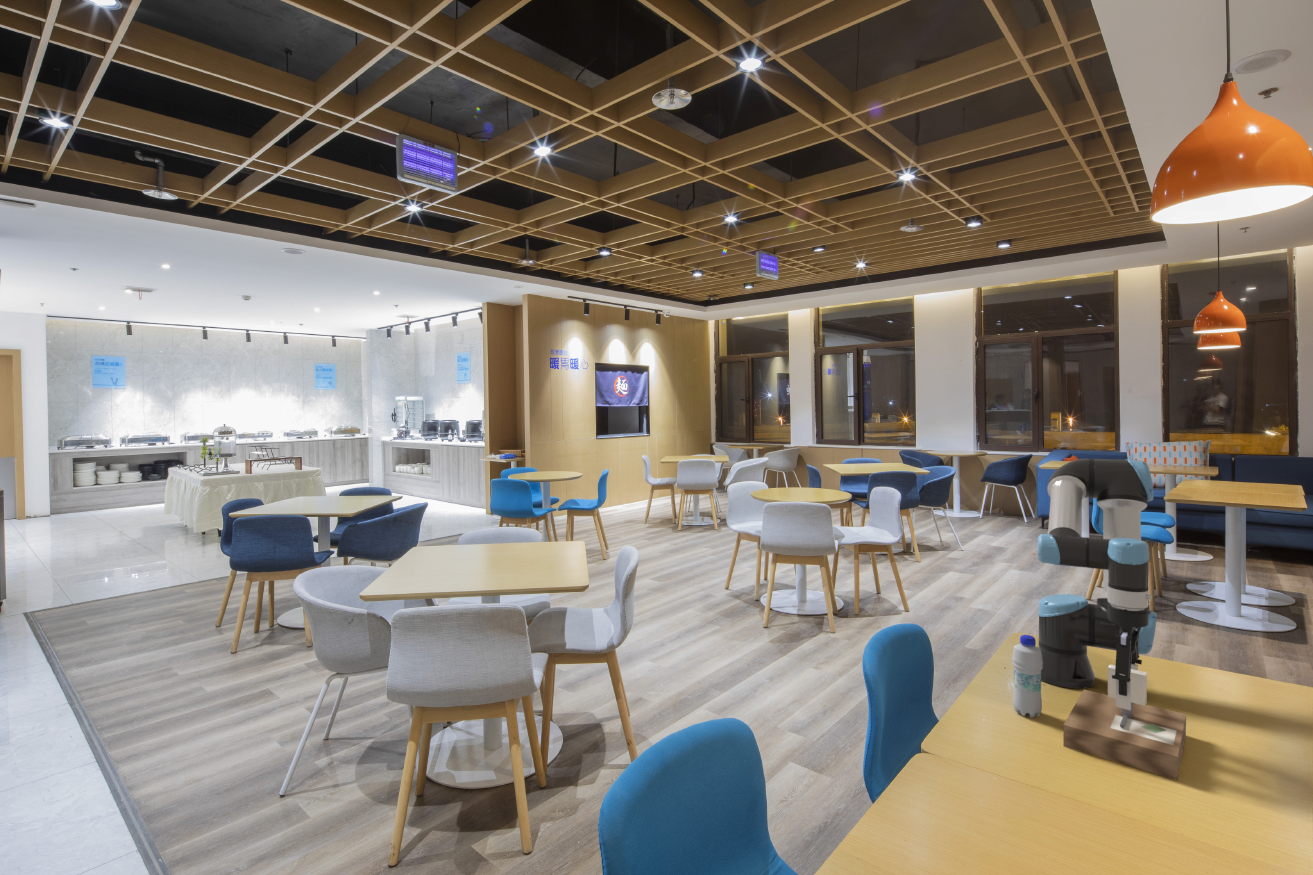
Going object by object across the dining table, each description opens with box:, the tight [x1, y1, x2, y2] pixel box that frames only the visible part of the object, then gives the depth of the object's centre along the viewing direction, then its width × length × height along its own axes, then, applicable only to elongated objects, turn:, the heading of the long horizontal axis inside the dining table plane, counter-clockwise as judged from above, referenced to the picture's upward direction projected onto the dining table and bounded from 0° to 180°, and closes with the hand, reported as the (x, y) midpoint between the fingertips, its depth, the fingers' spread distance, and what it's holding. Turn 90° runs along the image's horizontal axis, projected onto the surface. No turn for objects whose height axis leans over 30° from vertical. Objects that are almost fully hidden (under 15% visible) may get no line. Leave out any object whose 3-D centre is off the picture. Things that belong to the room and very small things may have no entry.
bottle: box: [1011, 634, 1043, 718], centre depth 157 cm, size 7×7×20 cm
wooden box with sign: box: [1062, 689, 1187, 781], centre depth 144 cm, size 20×24×5 cm
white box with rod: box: [1107, 664, 1148, 728], centre depth 142 cm, size 7×9×11 cm
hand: (1126, 698), depth 145 cm, fingers open, 11 cm apart
